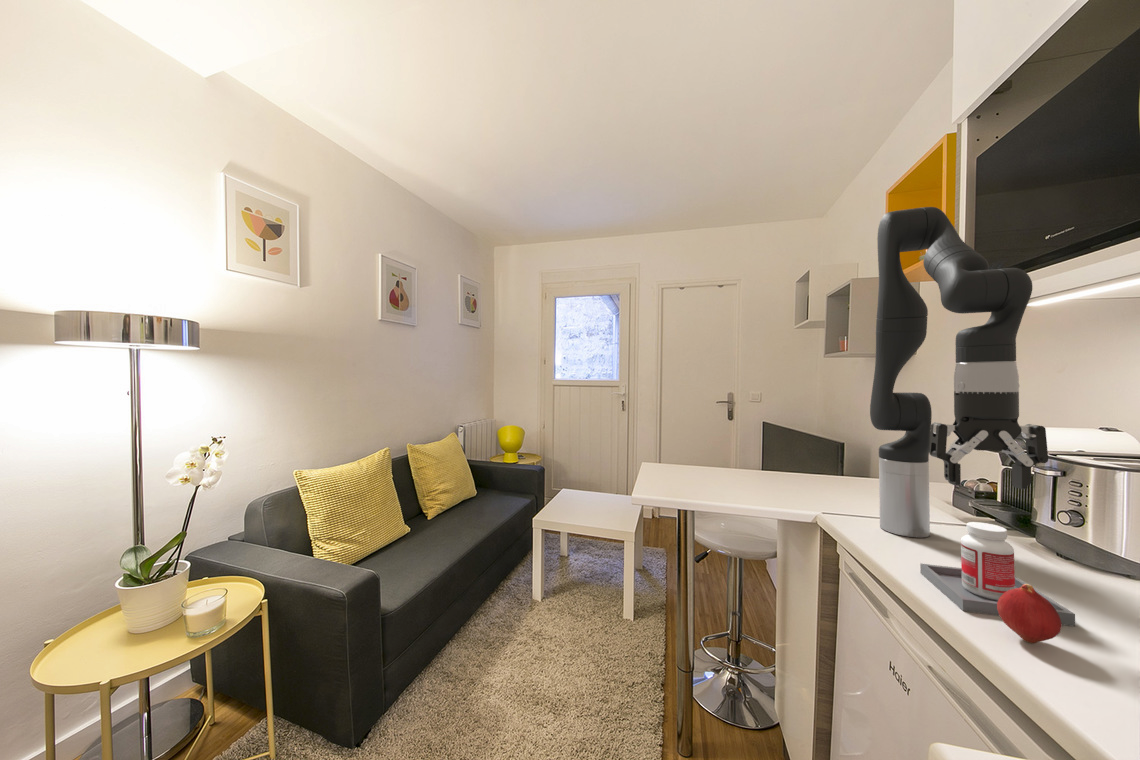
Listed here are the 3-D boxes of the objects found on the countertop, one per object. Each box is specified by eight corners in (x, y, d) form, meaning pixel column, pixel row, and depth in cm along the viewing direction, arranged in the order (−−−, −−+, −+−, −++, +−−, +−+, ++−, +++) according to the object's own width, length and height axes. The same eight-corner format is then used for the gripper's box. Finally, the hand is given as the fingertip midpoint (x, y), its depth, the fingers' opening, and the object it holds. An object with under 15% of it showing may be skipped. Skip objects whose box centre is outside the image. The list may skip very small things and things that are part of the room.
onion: (994, 623, 59) (993, 569, 59) (1054, 639, 55) (1053, 581, 55) (1002, 643, 54) (1001, 585, 55) (1068, 662, 51) (1067, 599, 51)
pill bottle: (1022, 597, 65) (1020, 529, 65) (1006, 606, 62) (1005, 535, 62) (970, 580, 71) (969, 517, 71) (954, 588, 68) (953, 523, 68)
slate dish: (920, 573, 75) (920, 563, 75) (1010, 583, 70) (1010, 573, 70) (962, 610, 62) (962, 599, 62) (1075, 626, 58) (1075, 614, 58)
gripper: (1024, 388, 68) (1024, 483, 68) (921, 389, 72) (922, 478, 72) (1061, 390, 61) (1062, 496, 61) (944, 390, 65) (945, 488, 65)
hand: (986, 486), depth 67 cm, fingers open, 8 cm apart
